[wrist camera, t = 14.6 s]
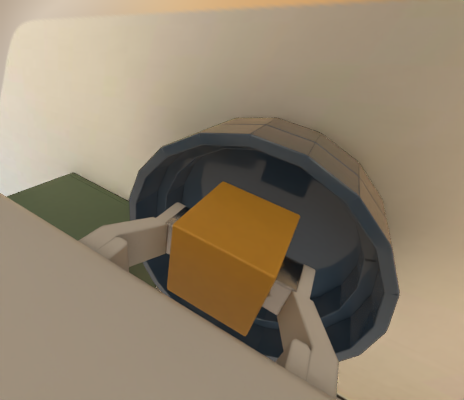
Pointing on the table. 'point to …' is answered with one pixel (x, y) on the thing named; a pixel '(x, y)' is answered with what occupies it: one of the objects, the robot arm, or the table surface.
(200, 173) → the bowl
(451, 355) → the table surface
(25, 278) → the robot arm
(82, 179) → the bin
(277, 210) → the mustard block
